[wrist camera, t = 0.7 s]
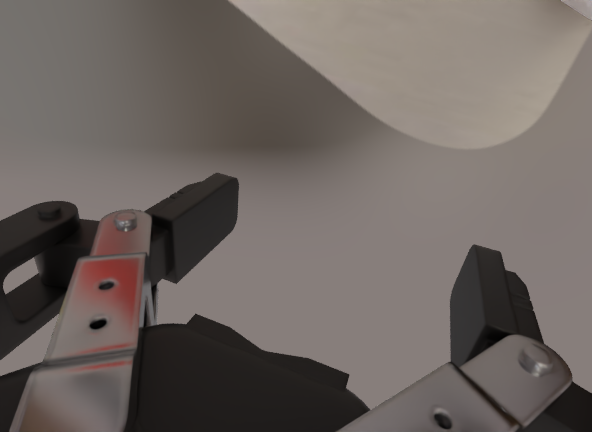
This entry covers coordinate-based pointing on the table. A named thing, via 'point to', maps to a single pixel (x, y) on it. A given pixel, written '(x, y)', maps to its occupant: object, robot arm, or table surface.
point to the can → (581, 7)
